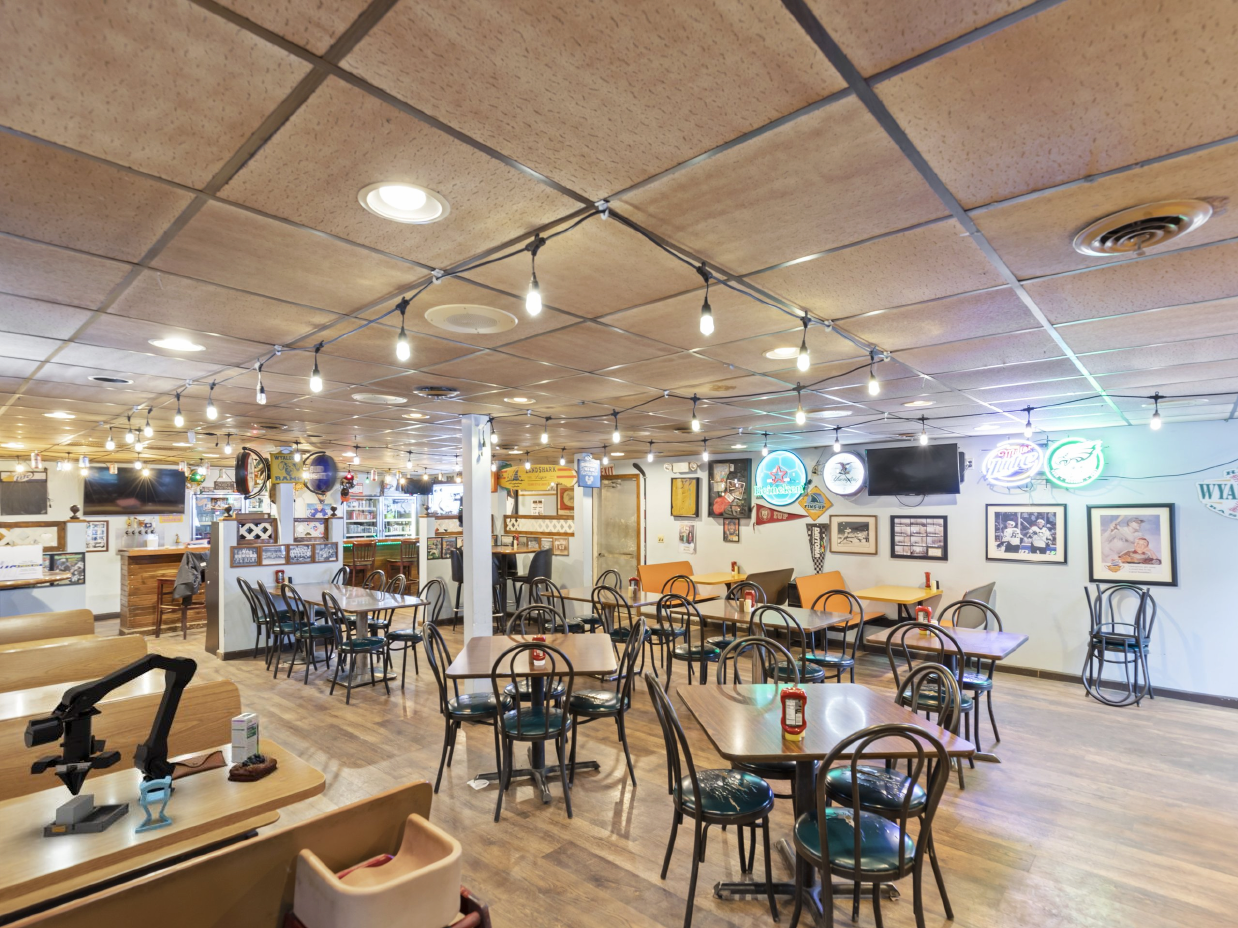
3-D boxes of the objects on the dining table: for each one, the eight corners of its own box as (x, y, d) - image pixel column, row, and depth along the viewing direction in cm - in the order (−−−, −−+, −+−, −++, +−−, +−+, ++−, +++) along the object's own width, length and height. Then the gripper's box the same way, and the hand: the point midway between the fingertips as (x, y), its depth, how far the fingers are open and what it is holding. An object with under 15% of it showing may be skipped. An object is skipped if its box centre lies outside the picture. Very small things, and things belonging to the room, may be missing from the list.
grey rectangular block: (93, 812, 172) (94, 793, 172) (72, 827, 164) (73, 807, 164) (77, 814, 171) (77, 795, 172) (55, 828, 163) (56, 808, 164)
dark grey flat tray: (128, 811, 174) (128, 802, 175) (101, 832, 163) (101, 822, 163) (74, 816, 173) (74, 807, 173) (42, 837, 161) (43, 827, 162)
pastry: (222, 782, 193) (223, 763, 193) (250, 766, 204) (250, 748, 205) (255, 783, 191) (255, 764, 192) (281, 767, 203) (281, 748, 203)
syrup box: (245, 763, 206) (246, 718, 207) (230, 762, 208) (231, 717, 209) (259, 756, 212) (259, 712, 213) (244, 755, 213) (244, 711, 214)
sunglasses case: (163, 783, 192) (161, 761, 195) (158, 789, 196) (156, 768, 199) (230, 764, 205) (227, 744, 208) (224, 771, 209) (221, 751, 212)
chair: (172, 812, 173) (173, 768, 174) (171, 824, 166) (172, 778, 167) (137, 821, 169) (139, 775, 170) (135, 833, 162) (136, 785, 163)
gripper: (134, 722, 179) (132, 778, 177) (60, 727, 176) (59, 784, 175) (108, 736, 168) (106, 796, 166) (29, 742, 165) (27, 803, 164)
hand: (75, 794), depth 168 cm, fingers closed
